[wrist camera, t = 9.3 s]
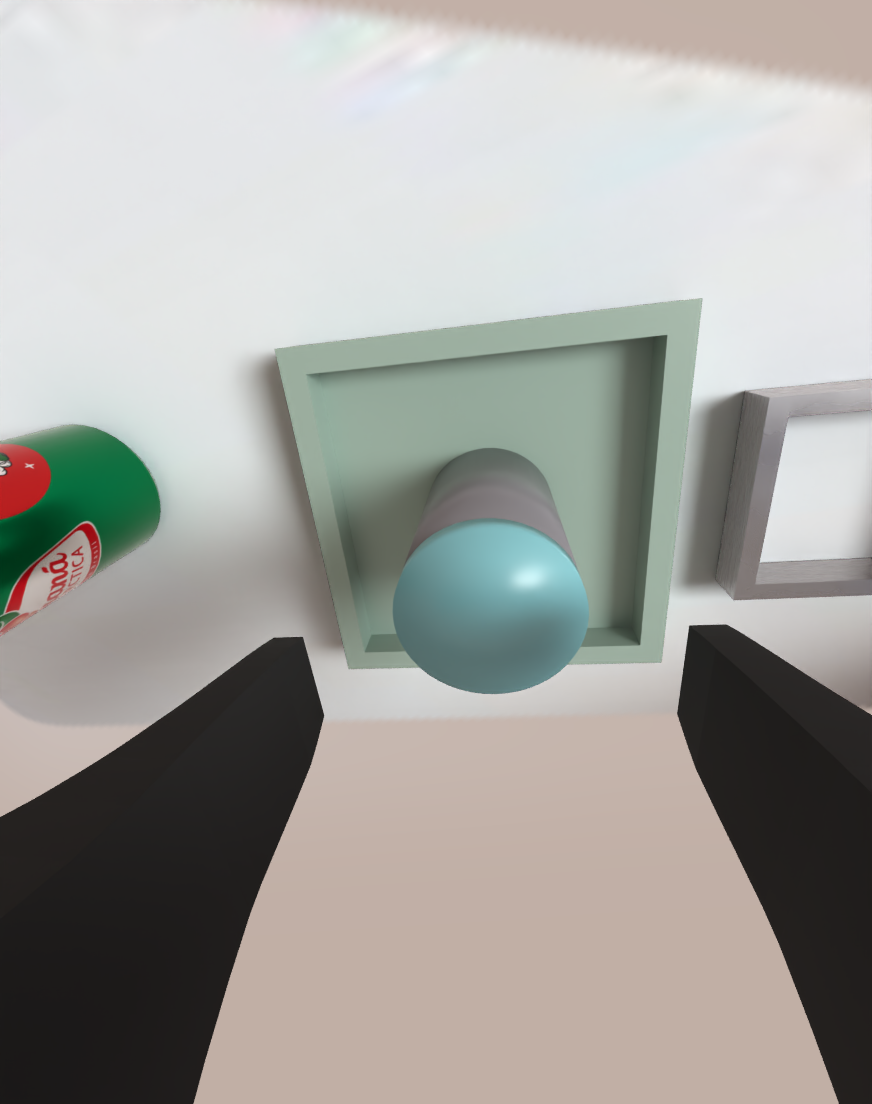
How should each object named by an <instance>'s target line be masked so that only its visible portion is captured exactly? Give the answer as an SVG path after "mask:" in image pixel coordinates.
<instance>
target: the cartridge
mask: <svg viewBox="0 0 872 1104" xmlns="http://www.w3.org/2000/svg"><path fill="white" fill-rule="evenodd" d="M392 612H393V622H394V626H395V630H396V633H397V636H398V638H399V640H400V643H401V644H402V646H403V648H404V649H405V651H406V653H407V654H408V655H409V656H410V658H411V659H412V660H413V661H414V662H415V663H416V664H417V665H418V666H419V667H420V668H421V669H422V670H424V671H425V672H426V673H427V674H429V675H430V676H432V677H434V678H435V679H437V680H438V681H441V682H443V683H445V684H447V685H449V686H452V687H455V688H458V689H461V690H465V691H469V692H475V693H482V694H502V693H510V692H516V691H520V690H524V689H527V688H530V687H533V686H535V685H538V684H540V683H542V682H544V681H546V680H548V679H549V678H551V677H552V676H554V675H555V674H557V673H558V672H560V671H561V670H562V669H563V668H564V667H565V666H566V665H567V664H568V663H569V662H570V661H571V659H572V658H573V657H574V656H575V654H576V653H577V651H578V650H579V648H580V646H581V644H582V642H583V640H584V638H585V635H586V631H587V627H588V620H589V605H588V599H587V595H586V591H585V588H584V585H583V582H582V580H581V577H580V574H579V571H578V568H577V565H576V562H575V560H574V557H573V554H572V551H571V548H570V545H569V542H568V539H567V537H566V534H565V531H564V528H563V525H562V522H561V519H560V517H559V514H558V511H557V508H556V505H555V502H554V499H553V497H552V494H551V491H550V488H549V486H548V483H547V481H546V479H545V477H544V476H543V474H542V473H541V471H540V470H539V469H538V468H537V467H536V466H535V465H534V464H533V463H532V462H531V461H529V460H528V459H527V458H525V457H523V456H521V455H520V454H518V453H515V452H512V451H509V450H505V449H500V448H482V449H476V450H473V451H469V452H467V453H464V454H462V455H460V456H458V457H457V458H455V459H453V460H452V461H451V462H450V463H448V464H447V465H446V466H445V467H444V468H443V469H442V470H441V472H440V473H439V474H438V476H437V477H436V479H435V481H434V483H433V485H432V488H431V490H430V493H429V496H428V499H427V502H426V505H425V507H424V510H423V513H422V516H421V519H420V522H419V524H418V527H417V530H416V533H415V536H414V539H413V541H412V544H411V547H410V550H409V553H408V556H407V558H406V561H405V564H404V567H403V570H402V573H401V576H400V578H399V581H398V584H397V587H396V590H395V594H394V599H393V611H392Z"/></svg>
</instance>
